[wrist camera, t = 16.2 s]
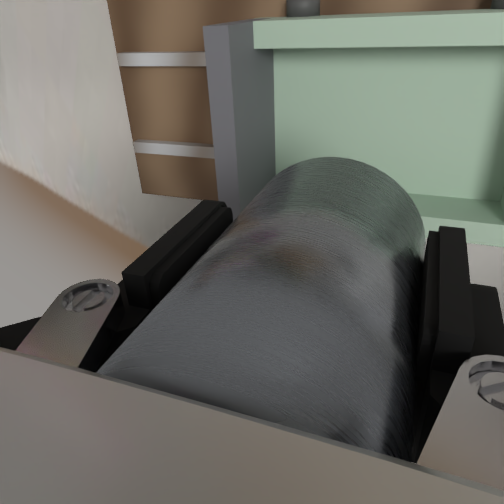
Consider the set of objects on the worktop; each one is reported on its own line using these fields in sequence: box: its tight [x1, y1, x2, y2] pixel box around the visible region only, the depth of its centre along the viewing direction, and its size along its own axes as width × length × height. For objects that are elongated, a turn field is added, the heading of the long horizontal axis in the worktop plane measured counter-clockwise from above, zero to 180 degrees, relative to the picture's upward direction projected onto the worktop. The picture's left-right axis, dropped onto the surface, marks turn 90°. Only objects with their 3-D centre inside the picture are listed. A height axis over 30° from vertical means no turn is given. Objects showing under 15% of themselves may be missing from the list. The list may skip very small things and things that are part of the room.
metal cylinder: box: [96, 157, 426, 462], centre depth 9 cm, size 5×5×8 cm
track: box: [107, 0, 492, 201], centre depth 26 cm, size 28×14×3 cm, turn 94°
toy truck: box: [203, 0, 504, 247], centre depth 22 cm, size 15×12×8 cm
